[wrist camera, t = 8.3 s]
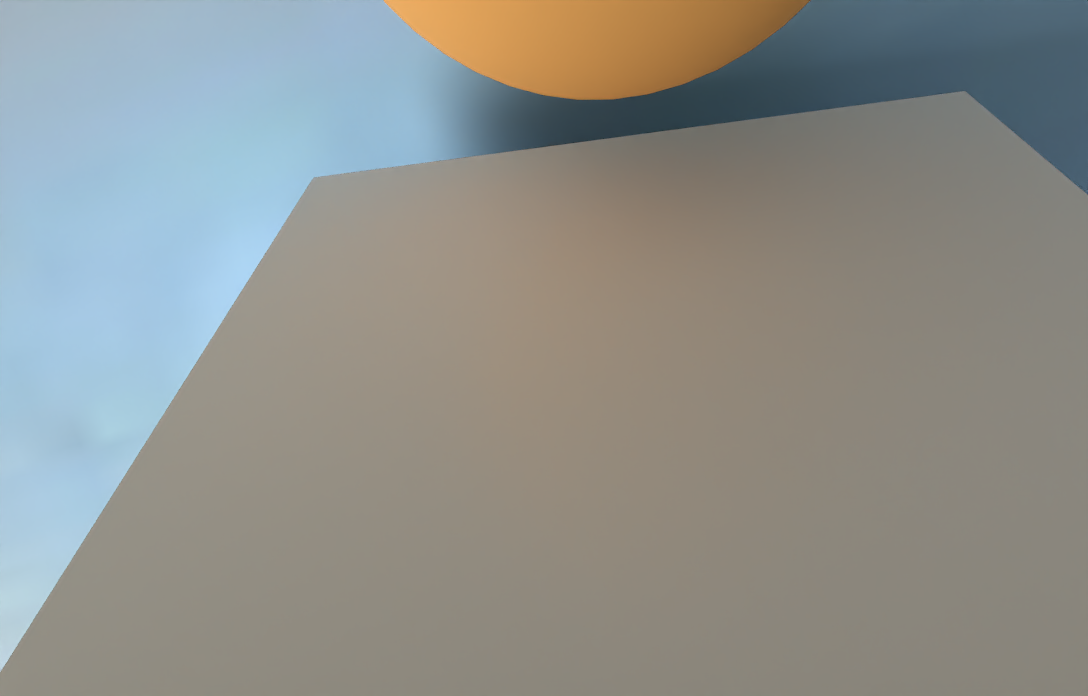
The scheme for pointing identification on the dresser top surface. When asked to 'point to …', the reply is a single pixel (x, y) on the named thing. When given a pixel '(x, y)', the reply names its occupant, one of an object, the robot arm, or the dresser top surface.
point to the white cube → (624, 432)
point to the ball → (595, 40)
